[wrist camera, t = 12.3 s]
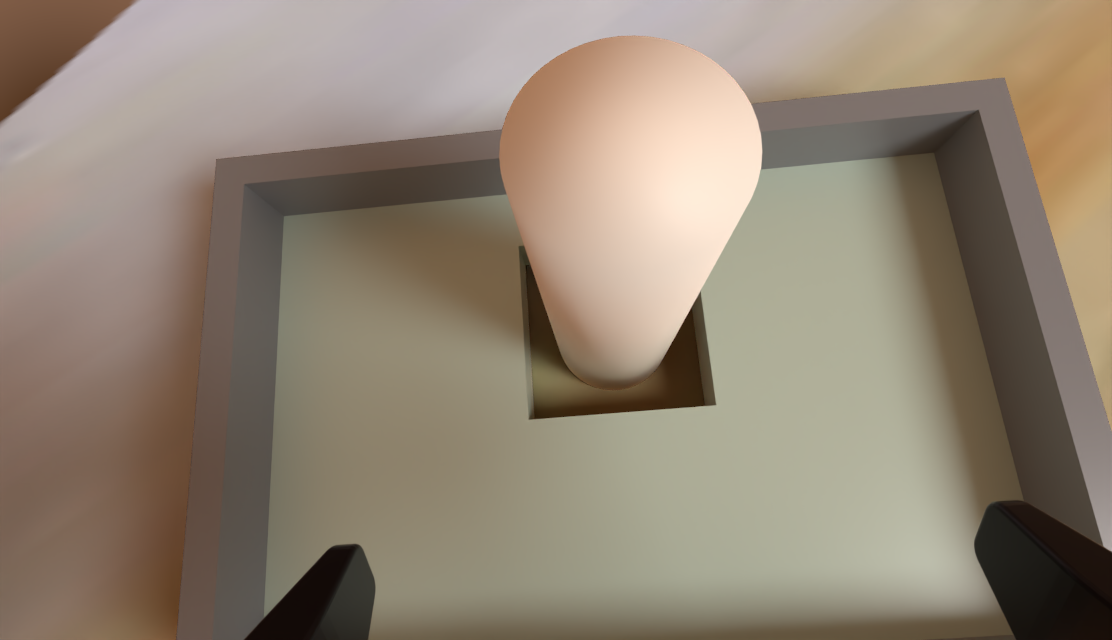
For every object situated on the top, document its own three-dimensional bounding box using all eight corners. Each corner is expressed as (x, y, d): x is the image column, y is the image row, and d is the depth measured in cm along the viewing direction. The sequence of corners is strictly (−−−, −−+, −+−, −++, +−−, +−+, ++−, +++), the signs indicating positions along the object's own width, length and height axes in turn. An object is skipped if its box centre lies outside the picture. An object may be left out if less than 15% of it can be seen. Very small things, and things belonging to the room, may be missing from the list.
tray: (1052, 648, 18) (1194, 704, 14) (263, 692, 20) (166, 754, 15) (926, 153, 22) (1004, 77, 18) (286, 216, 24) (216, 159, 19)
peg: (684, 369, 21) (805, 219, 9) (577, 405, 21) (544, 306, 9) (644, 269, 22) (703, 4, 10) (543, 303, 22) (469, 81, 10)
